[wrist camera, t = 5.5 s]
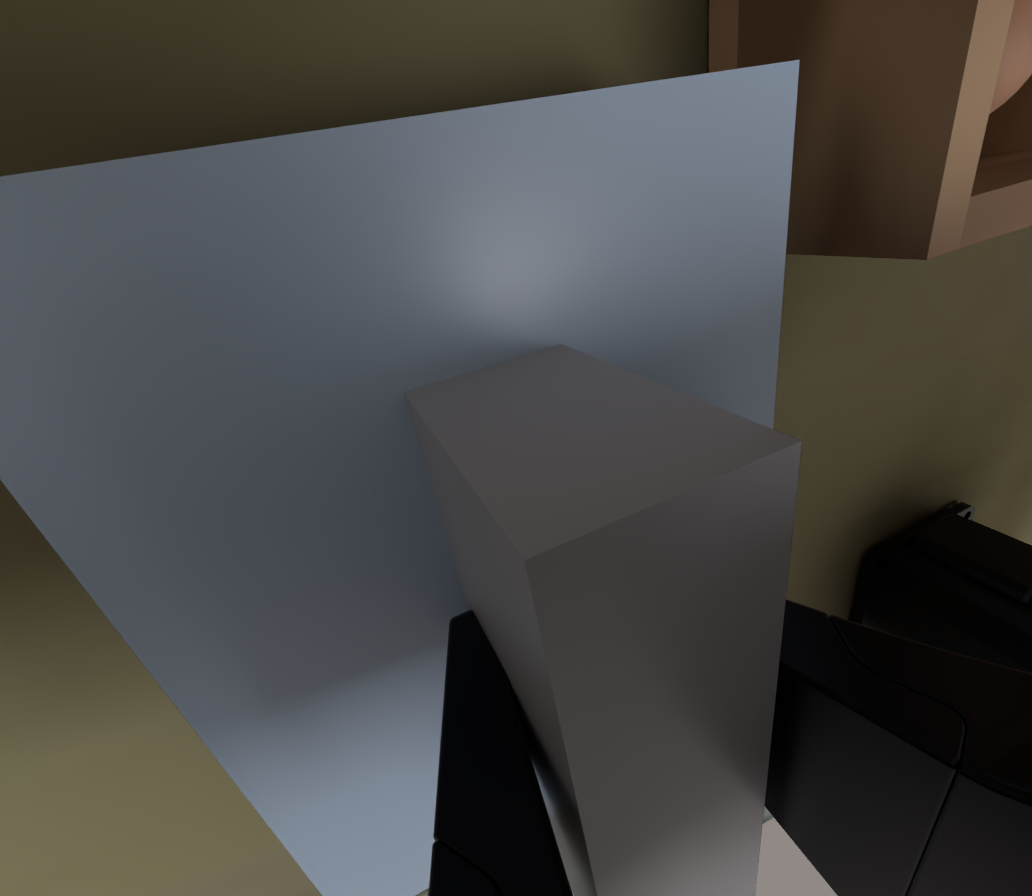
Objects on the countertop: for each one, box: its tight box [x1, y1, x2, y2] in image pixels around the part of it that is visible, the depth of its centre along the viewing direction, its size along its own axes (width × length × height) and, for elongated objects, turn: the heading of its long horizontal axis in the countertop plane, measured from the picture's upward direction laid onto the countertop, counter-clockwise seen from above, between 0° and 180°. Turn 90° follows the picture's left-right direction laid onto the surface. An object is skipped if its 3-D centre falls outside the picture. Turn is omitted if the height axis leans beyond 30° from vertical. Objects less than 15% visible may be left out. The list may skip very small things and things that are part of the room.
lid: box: [0, 60, 802, 896], centre depth 8 cm, size 14×11×6 cm
